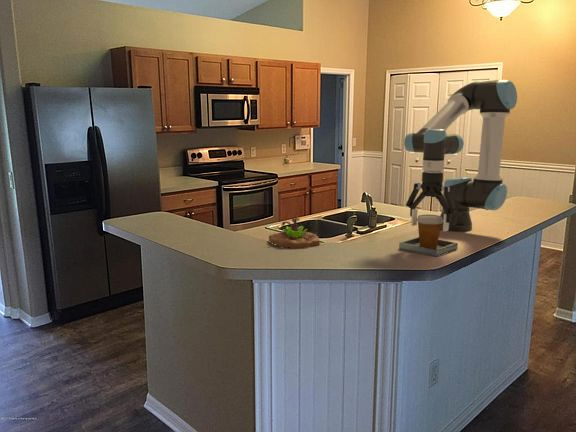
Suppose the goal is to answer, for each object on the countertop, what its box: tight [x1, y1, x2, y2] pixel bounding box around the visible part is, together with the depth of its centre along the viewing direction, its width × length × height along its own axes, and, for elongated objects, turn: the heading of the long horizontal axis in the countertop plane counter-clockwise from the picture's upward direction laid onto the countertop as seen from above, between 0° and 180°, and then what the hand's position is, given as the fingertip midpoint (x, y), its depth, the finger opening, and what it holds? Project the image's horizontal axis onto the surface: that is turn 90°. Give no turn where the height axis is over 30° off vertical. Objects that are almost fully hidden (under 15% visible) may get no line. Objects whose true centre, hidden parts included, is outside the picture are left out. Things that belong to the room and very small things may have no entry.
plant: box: [268, 215, 321, 249], centre depth 193 cm, size 20×20×11 cm
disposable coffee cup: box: [417, 214, 443, 249], centre depth 182 cm, size 10×10×12 cm
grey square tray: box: [398, 236, 459, 258], centre depth 183 cm, size 16×16×2 cm
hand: (429, 228), depth 182 cm, fingers open, 13 cm apart
